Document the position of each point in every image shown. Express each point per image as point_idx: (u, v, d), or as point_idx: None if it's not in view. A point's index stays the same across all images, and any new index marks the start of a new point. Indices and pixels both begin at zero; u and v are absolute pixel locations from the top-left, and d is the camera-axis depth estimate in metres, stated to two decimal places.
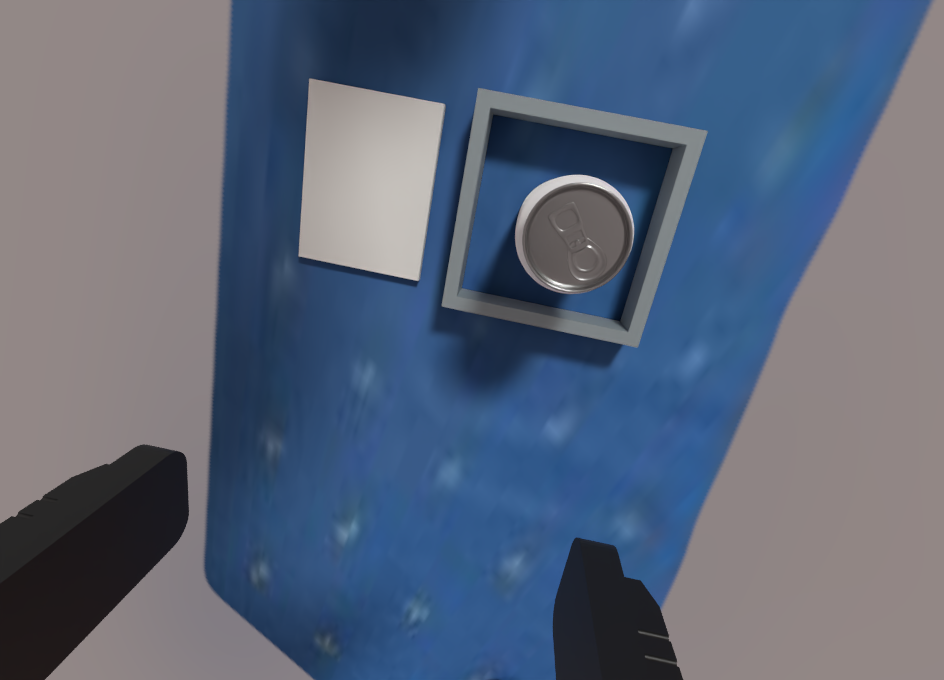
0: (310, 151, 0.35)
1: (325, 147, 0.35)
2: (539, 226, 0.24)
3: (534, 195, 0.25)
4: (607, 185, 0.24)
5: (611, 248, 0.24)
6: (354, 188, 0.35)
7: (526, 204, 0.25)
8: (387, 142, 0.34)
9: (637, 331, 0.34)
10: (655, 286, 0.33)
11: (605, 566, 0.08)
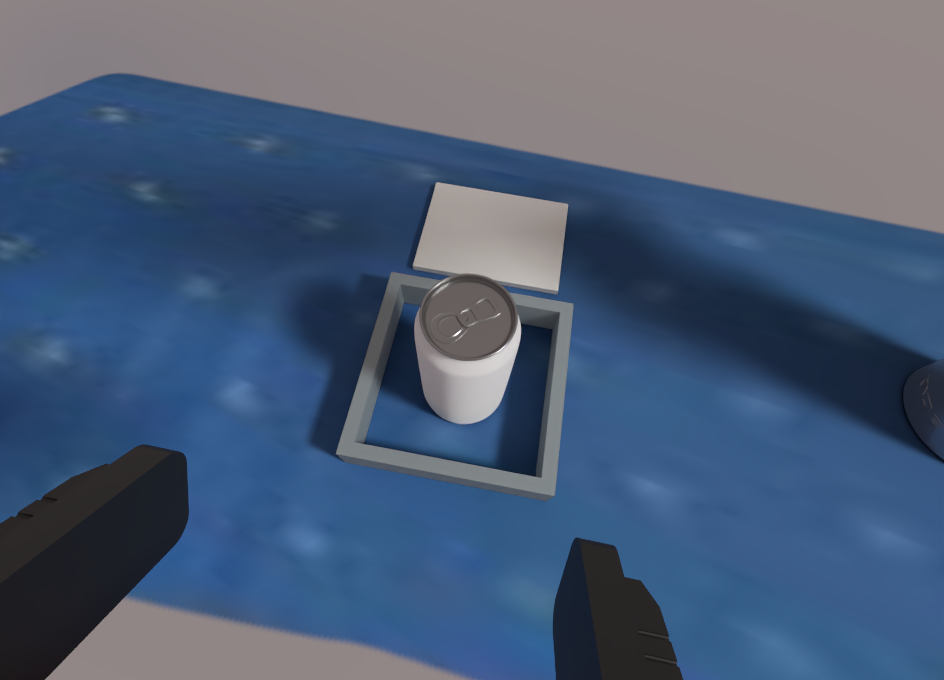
0: (517, 199, 0.45)
1: (521, 208, 0.44)
2: (479, 288, 0.27)
3: None
4: (514, 348, 0.27)
5: (460, 346, 0.26)
6: (491, 224, 0.43)
7: None
8: (527, 250, 0.42)
9: (354, 451, 0.32)
10: (403, 464, 0.31)
11: (605, 566, 0.08)
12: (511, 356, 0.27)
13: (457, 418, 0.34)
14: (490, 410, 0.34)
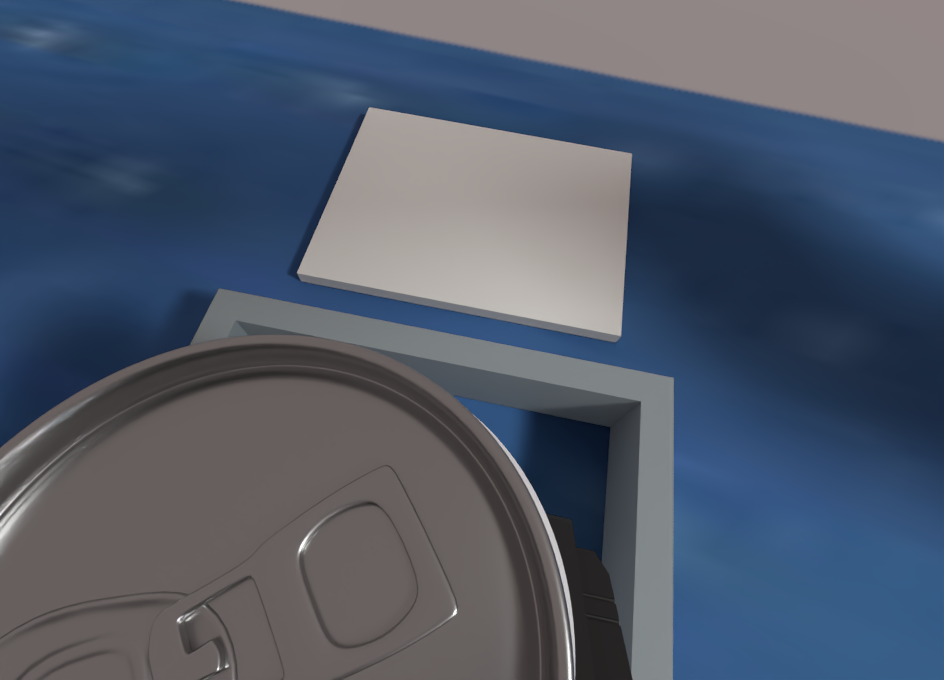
0: (529, 141, 0.22)
1: (537, 160, 0.22)
2: (340, 424, 0.05)
3: (482, 425, 0.06)
4: None
5: None
6: (475, 190, 0.21)
7: None
8: (550, 243, 0.20)
9: None
10: None
11: (559, 536, 0.08)
12: None
13: None
14: None
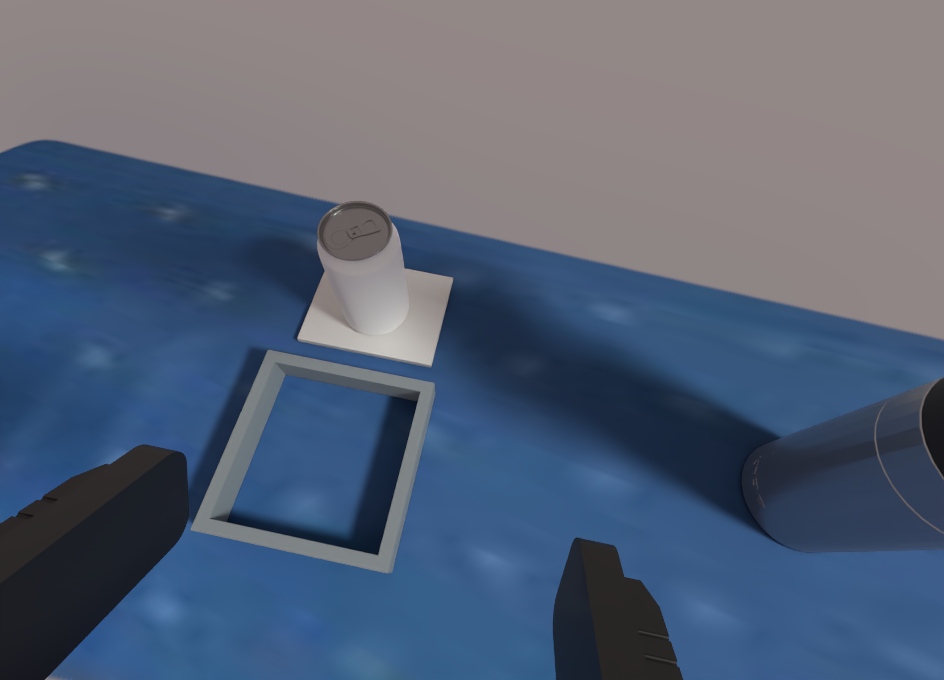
0: (405, 272, 0.48)
1: (407, 282, 0.47)
2: (366, 212, 0.36)
3: None
4: (390, 256, 0.35)
5: (346, 251, 0.34)
6: None
7: None
8: (407, 323, 0.45)
9: (208, 528, 0.34)
10: (251, 541, 0.34)
11: (605, 566, 0.08)
12: (388, 263, 0.36)
13: (365, 327, 0.43)
14: (392, 322, 0.43)
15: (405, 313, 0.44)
